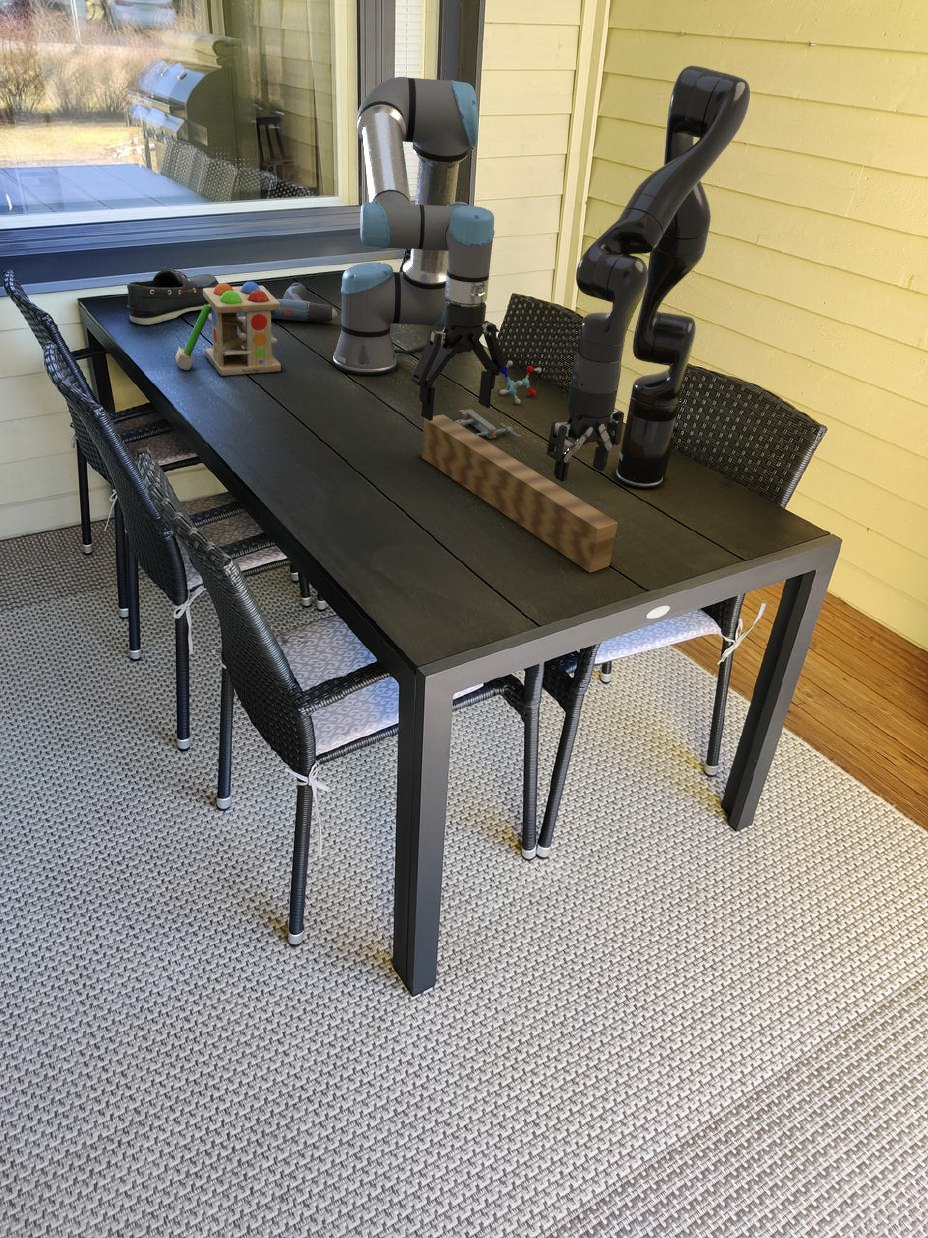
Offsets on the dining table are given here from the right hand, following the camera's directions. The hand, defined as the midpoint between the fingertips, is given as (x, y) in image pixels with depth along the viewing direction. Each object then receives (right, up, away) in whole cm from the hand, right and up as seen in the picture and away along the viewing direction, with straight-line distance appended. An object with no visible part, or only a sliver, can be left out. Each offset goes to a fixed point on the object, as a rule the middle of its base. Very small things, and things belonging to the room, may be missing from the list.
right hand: (579, 474), depth 164 cm
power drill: (-62, +59, +103) cm, 134 cm away
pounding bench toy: (-75, +35, +66) cm, 107 cm away
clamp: (-15, +16, +47) cm, 52 cm away
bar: (-11, -3, +19) cm, 22 cm away
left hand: (-21, +15, +24) cm, 35 cm away
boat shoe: (-96, +58, +97) cm, 148 cm away
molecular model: (-8, +28, +65) cm, 71 cm away
